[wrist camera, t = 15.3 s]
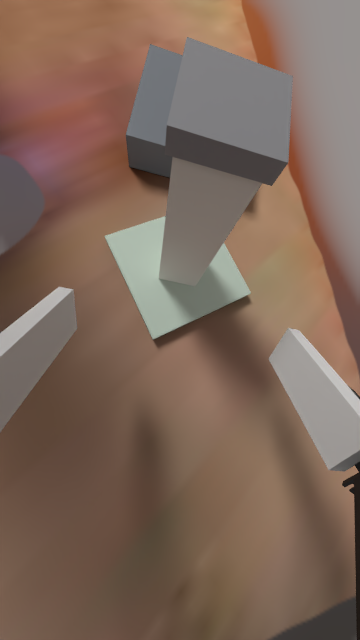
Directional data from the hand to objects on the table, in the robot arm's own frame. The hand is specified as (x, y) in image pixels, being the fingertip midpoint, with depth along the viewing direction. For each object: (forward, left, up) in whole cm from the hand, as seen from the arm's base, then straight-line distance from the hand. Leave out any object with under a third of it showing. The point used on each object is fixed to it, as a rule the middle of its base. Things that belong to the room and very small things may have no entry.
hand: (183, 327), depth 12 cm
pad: (-7, +4, -8) cm, 12 cm away
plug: (-7, +4, -7) cm, 11 cm away
